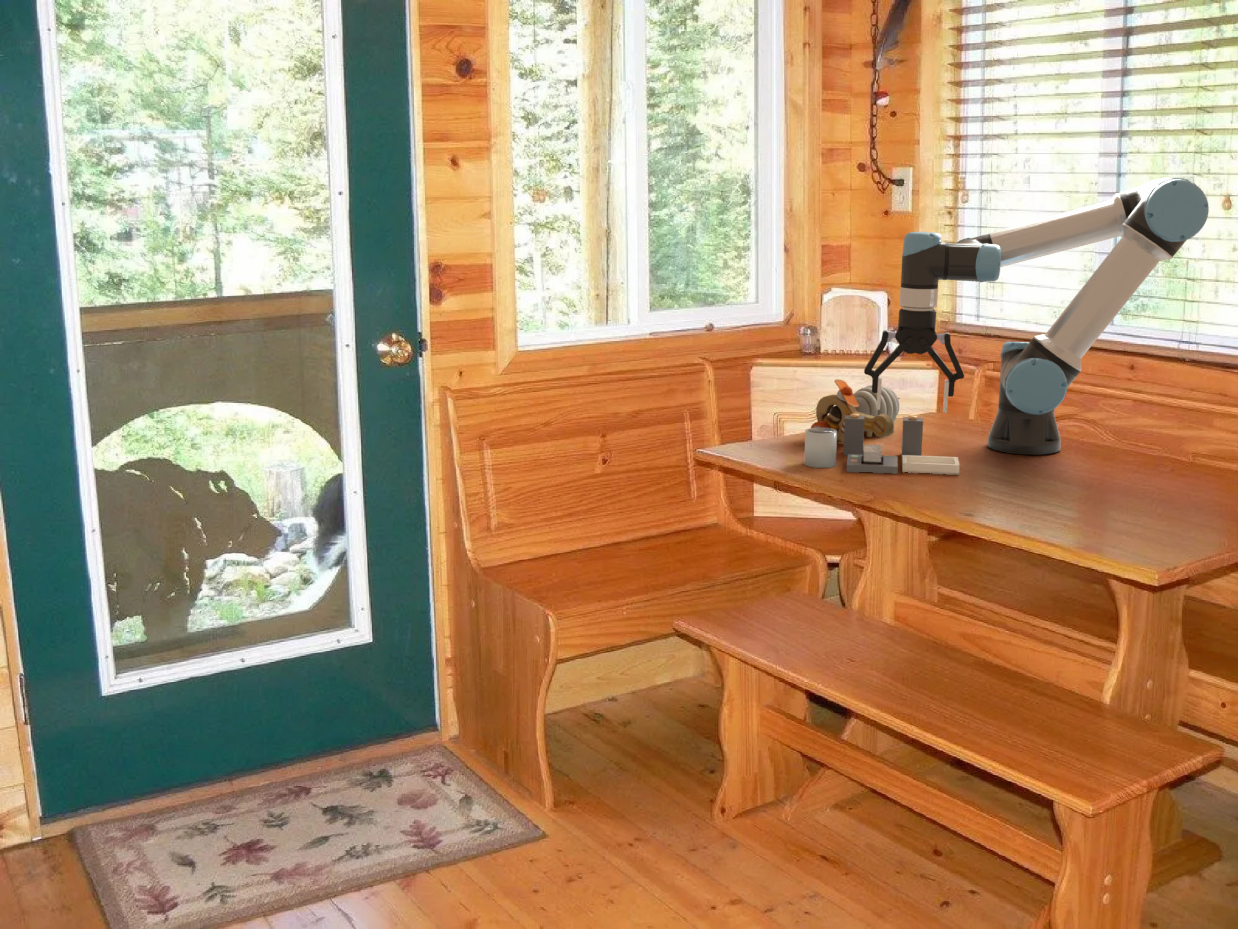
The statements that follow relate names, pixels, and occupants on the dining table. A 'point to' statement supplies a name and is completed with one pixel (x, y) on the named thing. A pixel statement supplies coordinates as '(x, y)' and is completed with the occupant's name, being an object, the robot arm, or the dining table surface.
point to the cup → (820, 447)
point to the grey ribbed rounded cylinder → (869, 403)
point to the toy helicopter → (848, 413)
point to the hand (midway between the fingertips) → (911, 410)
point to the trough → (930, 464)
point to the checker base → (888, 465)
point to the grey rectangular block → (872, 453)
